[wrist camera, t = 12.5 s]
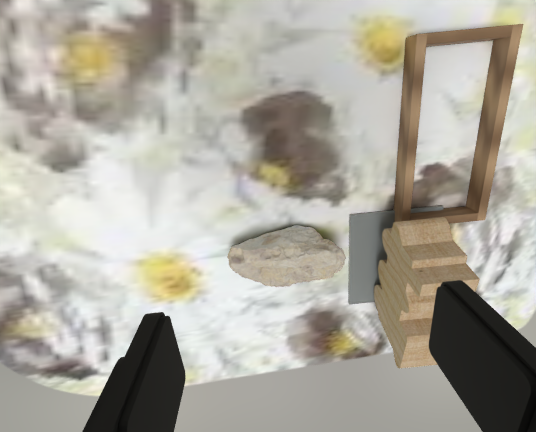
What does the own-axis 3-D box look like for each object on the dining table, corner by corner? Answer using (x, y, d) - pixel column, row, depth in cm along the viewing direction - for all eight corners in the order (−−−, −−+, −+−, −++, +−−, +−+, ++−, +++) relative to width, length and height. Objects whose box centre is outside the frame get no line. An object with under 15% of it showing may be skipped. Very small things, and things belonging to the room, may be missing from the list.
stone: (302, 261, 46) (351, 294, 38) (226, 287, 40) (264, 332, 32) (302, 213, 44) (355, 238, 35) (221, 234, 38) (261, 269, 30)
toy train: (432, 205, 36) (487, 259, 28) (408, 304, 45) (445, 367, 37) (385, 209, 36) (427, 265, 28) (371, 307, 45) (399, 372, 37)
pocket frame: (405, 38, 32) (417, 34, 30) (504, 28, 32) (523, 24, 30) (392, 220, 40) (401, 228, 38) (472, 212, 40) (485, 219, 38)
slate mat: (349, 214, 40) (350, 215, 39) (441, 205, 40) (443, 206, 39) (348, 302, 45) (349, 304, 45) (429, 294, 45) (431, 296, 45)
